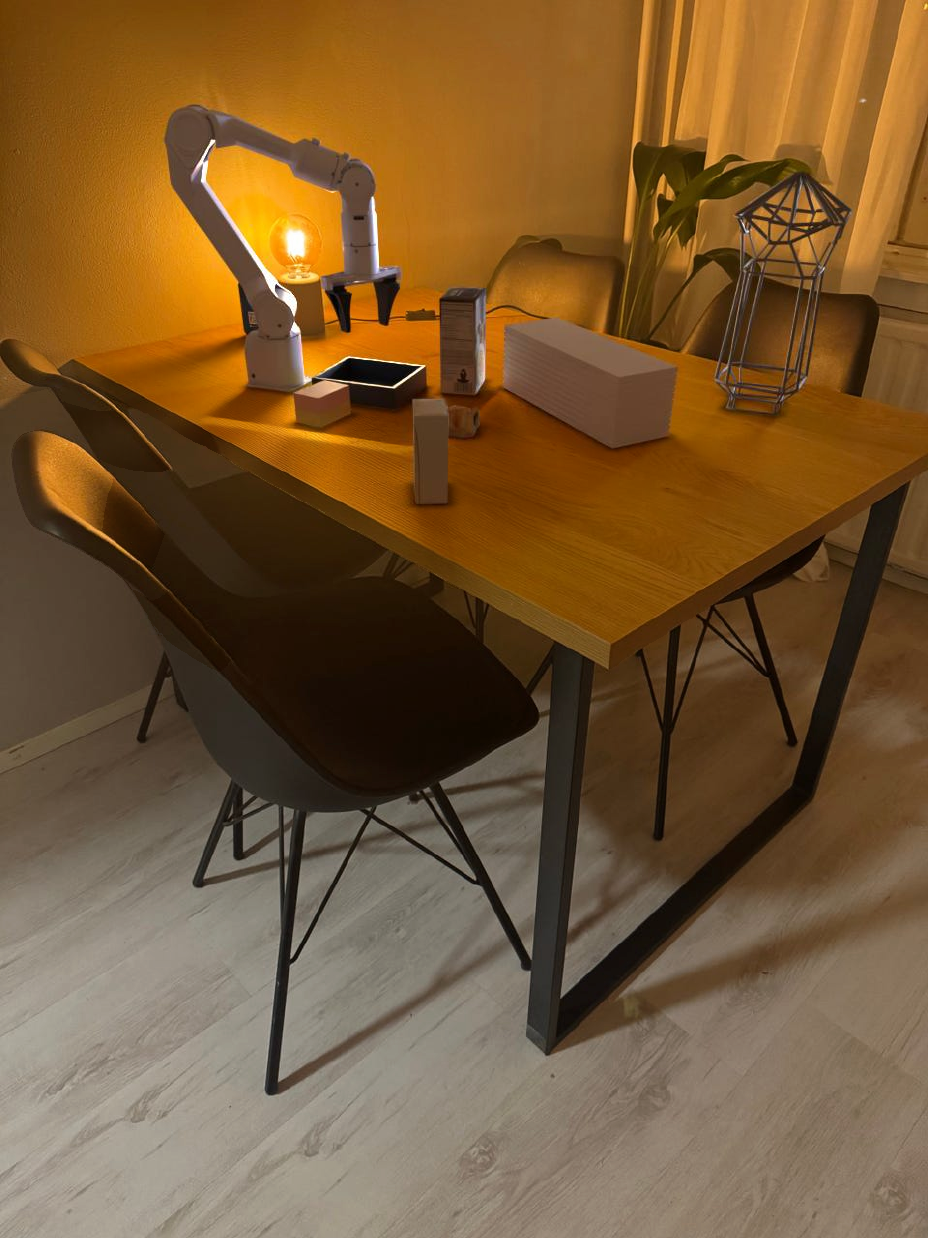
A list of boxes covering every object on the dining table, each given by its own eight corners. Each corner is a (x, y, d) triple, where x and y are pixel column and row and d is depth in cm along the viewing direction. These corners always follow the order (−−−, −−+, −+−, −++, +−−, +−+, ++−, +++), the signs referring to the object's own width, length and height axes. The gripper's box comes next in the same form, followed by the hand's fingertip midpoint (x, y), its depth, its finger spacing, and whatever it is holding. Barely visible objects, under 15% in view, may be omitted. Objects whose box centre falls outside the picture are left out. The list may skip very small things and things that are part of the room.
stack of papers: (502, 387, 153) (504, 324, 147) (553, 378, 157) (557, 317, 151) (611, 448, 129) (619, 377, 123) (668, 436, 134) (678, 366, 128)
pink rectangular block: (296, 423, 138) (293, 392, 135) (327, 409, 143) (324, 379, 141) (320, 429, 136) (317, 398, 133) (351, 415, 141) (349, 385, 138)
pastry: (414, 434, 134) (413, 410, 132) (425, 420, 139) (424, 396, 137) (474, 439, 132) (474, 415, 130) (482, 424, 138) (483, 401, 136)
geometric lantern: (719, 385, 154) (756, 163, 135) (812, 399, 148) (864, 169, 129) (698, 413, 142) (735, 173, 123) (798, 428, 136) (853, 180, 117)
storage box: (313, 400, 147) (311, 377, 145) (349, 377, 157) (348, 356, 155) (395, 411, 142) (394, 388, 140) (426, 387, 153) (426, 365, 151)
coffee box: (450, 378, 157) (450, 285, 148) (485, 380, 156) (487, 286, 147) (439, 394, 150) (438, 297, 141) (476, 397, 149) (477, 299, 140)
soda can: (251, 330, 184) (243, 270, 178) (282, 331, 183) (276, 271, 177) (239, 339, 178) (231, 277, 172) (272, 340, 177) (265, 278, 171)
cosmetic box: (413, 485, 118) (411, 397, 112) (446, 484, 118) (445, 397, 112) (415, 505, 113) (412, 414, 106) (449, 504, 113) (449, 414, 107)
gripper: (384, 235, 149) (388, 316, 157) (309, 244, 142) (316, 329, 149) (407, 241, 145) (409, 325, 152) (330, 251, 137) (337, 338, 145)
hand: (365, 327), depth 150 cm, fingers open, 7 cm apart
